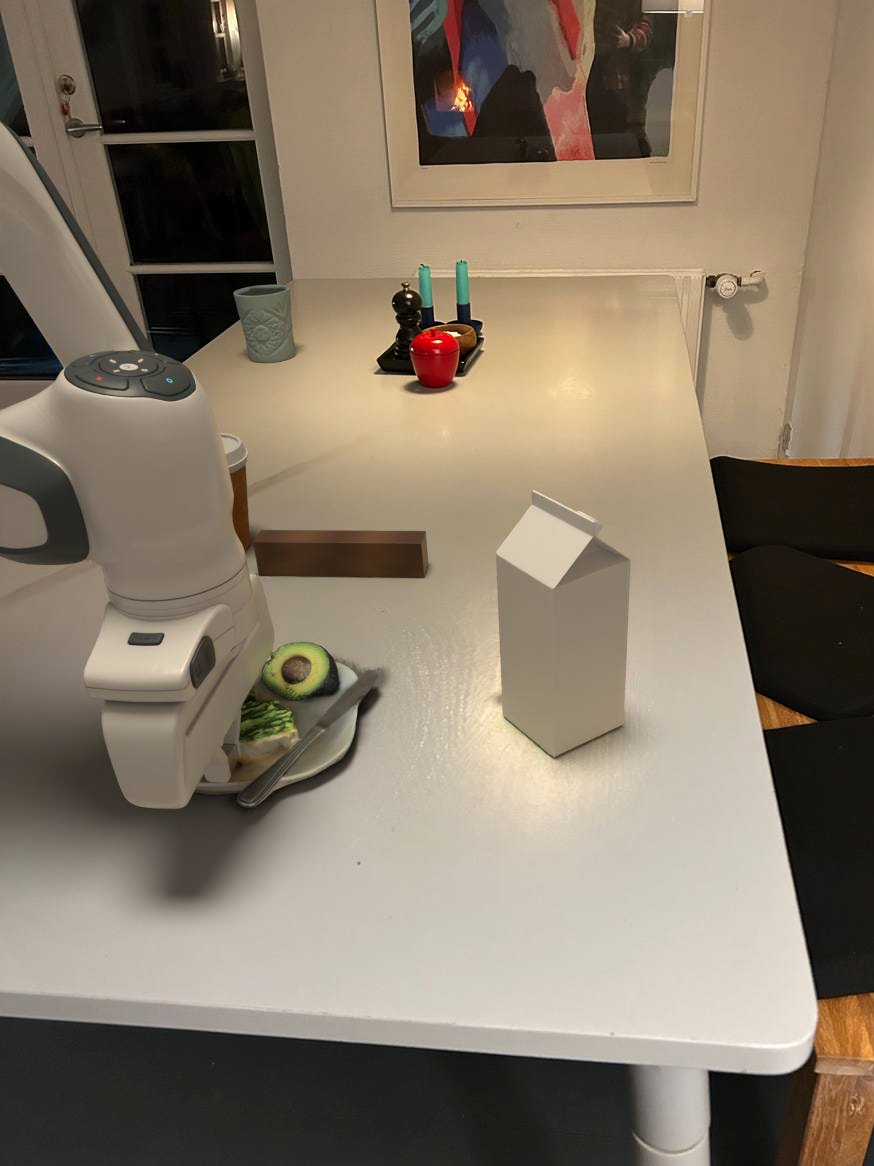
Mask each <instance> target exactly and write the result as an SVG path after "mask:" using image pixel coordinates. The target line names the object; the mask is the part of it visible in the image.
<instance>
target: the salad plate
mask: <svg viewBox="0 0 874 1166" xmlns="http://www.w3.org/2000/svg"><path fill="white" fill-rule="evenodd" d="M269 657H270V659H268V660H267V661H266V663H265V665H264V667H263V668H262V670H261V672H260V674H259V676H258V677H257V679H256V681H255V683H254V685H253V686H252V688H251V690H250V692H249V694H248V695H247V697H246V699H245V701H244V703H243V704H242V706H241V722H240V735H239V743H240V748H241V752H242V755H241V757H240V759H239V761H238V763H237V765H236V767H235V768H234V770H233V773H232V775H231V776H230V779H229V781H228V782H226V783H217V782H210V781H208V780H207V779H206V778H205V775H203V776H202V778H201V780H200V782H199V784H198V785H197V787H196V789H195V791H194V793H198V794H202V795H209V796H221V795H230V794H238V795H237V797H236V803H237V804H238V805H239V806H241V807H242V808H254V807H256V806H258V805H260V804H261V803H262V802H263V801H264V800H266V799H267V798H268V797H269V795H271V794H273V792H275V791H276V790H279V789H281V788H283V787H286V786H289V785H291V784H294V783H296V782H297V783H298V782H300V781H302V780H305V779H309V778H311V777H314V776H316V775H318V774H319V773H321V772H322V771H324V770H326V769H328V768H329V767H330V766H332V765H335V764H336V763H338V762H339V761H341V760H342V759H343V758H344V757H345V755H346V754H347V752H348V751H349V750H350V747H351V746H352V742H353V740H354V737H355V734H356V730H357V725H356V723H357V717H358V708H359V706H360V704H361V703H362V701H363V700H364V699H365V697H366V696H367V695H368V694H369V693H370V692H371V690H372V689H373V687H374V686H375V685H376V683H377V681H378V680H379V678H380V676H379V674H378V673H377V671H376V669H368V670H365V671H364V672H363V673H361V674H359V673H357V672H355V671H354V670H352V669H351V668H350V667H349V666H347V665H345V664H344V663H341V662H337V661H335V659H334V656H333V655H332V654H331V653H330V652H329V651H328V650H327V649H326V648H325V647H323V646H322V645H319V644H317V643H314V642H309V641H296V642H289V643H285V644H283V645H281V646H280V647H278V648H277V650H275V651H272V652H271V654H270V656H269Z"/></svg>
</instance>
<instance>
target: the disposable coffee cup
mask: <svg viewBox="0 0 874 1166" xmlns="http://www.w3.org/2000/svg"><path fill="white" fill-rule="evenodd" d="M220 434H221V438H222V442H223V446H224V450H225V454H226V458H227V463H228V468H229V473H230V477H231V482H232V488H233V494H234V502H233V510H232V521H233V526H234V529H235V532H236V534H237V536H238V538H239V540H240V541H241V543H242V545H243V548H244V551H246V550H247V549H248V548H249V547H250V546H251V536H250V520H249V518H250V517H249V516H250V515H249V500H248V482H247V481H248V480H247V462H248V457H249V450H248V448H247V447H246V446H244V443H243V441H242V439H241V438H240V437H239V436H237V435H234V434H231V433H225V432H220Z"/></svg>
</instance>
